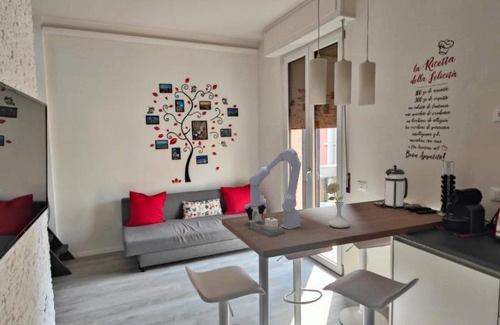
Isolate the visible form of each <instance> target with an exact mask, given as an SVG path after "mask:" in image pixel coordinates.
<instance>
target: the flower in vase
mask: <svg viewBox="0 0 500 325" xmlns="http://www.w3.org/2000/svg"><path fill="white" fill-rule="evenodd" d="M339 190H340V184H339V183H337V182H331V183H329V184H328V185H327V186H326V188H325V191H326V193H327V194H330V195H331V194H334V196H330V197H328V199H327V200H330V201H334V200H335V202H334V203H335V206H336V215H335V216H334V217H333V218H331V219H330V220H329V221H328V225H329V226H330V227H333V228H338V229H339V228H341V229H342V228H348V227H349V226H350V222H349V221H348V220H347V219H346V218H345V217H344V216H343V215H342V208H343V206H344V201H342V200H343V198H344V195H342V196H339V197H338V198H336V194H335V193H337V192H338V191H339Z"/></svg>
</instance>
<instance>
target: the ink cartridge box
mask: <svg viewBox="0 0 500 325" xmlns="http://www.w3.org/2000/svg"><path fill="white" fill-rule="evenodd" d="M260 202H266V205H265V206H266V208H265V210H264V212H263V216H262V219H264V220H265V219H266V218H268V216H267V215H268V213H267V211H268V210H267V208H268V207H267V198H265V195H264V194H263V195H262V194H260ZM252 209H253V213H254V212H257V213H259V211H258V207H252Z"/></svg>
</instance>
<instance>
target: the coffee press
mask: <svg viewBox="0 0 500 325" xmlns="http://www.w3.org/2000/svg"><path fill="white" fill-rule="evenodd" d="M397 167H398V165H396V164H394V165H393V168H387V169H386V170H385V171H384V174H385V178H384V202H383V204H382V207H384V208H385V206H389V207H393V210H397V209H396V207H402V208H403V207H405V208H406V205H404V202H405V199H406V198H407V197H408V192H409V191H408V190H409V188H408V187H409V181H408V179H407V177H405V176H406V173H405V170H403V169H401V168H397Z"/></svg>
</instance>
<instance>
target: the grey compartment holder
mask: <svg viewBox="0 0 500 325" xmlns="http://www.w3.org/2000/svg"><path fill="white" fill-rule="evenodd" d="M249 224H250V225H248V226H247V229H248V230H249V231H253V232H255V233H258V234H261V235H263V236H266V237H269V238H272V237H277V236H281V235H284V234H286V233H285V231H286V230H283V227H281V226H280V225H279V219H278V218H274V217H272V216H270V217H266V218H264V220H262V221H261V220H259V221H254V222H250V221H249Z"/></svg>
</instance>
